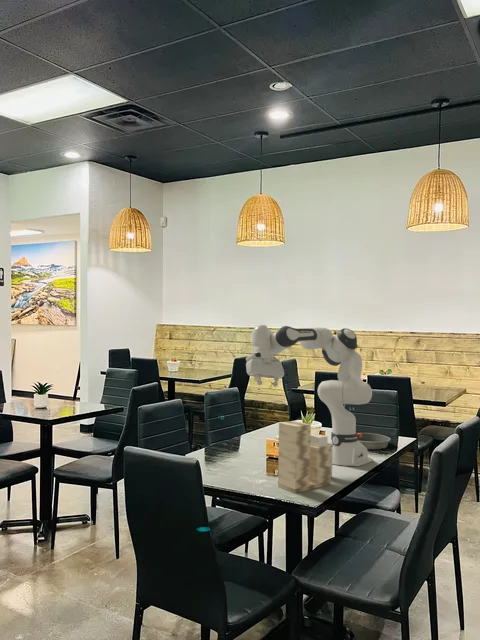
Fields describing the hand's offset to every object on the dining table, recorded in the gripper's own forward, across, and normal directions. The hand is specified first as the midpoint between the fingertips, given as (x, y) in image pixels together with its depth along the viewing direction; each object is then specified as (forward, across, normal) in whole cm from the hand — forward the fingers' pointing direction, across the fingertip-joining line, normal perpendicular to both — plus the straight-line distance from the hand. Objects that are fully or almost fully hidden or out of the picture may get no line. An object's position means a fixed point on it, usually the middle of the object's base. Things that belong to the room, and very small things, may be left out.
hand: (267, 385), depth 264 cm
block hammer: (+31, -1, +19) cm, 36 cm away
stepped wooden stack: (+48, +3, +17) cm, 51 cm away
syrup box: (+45, -13, +12) cm, 48 cm away
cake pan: (+24, -77, -16) cm, 82 cm away
